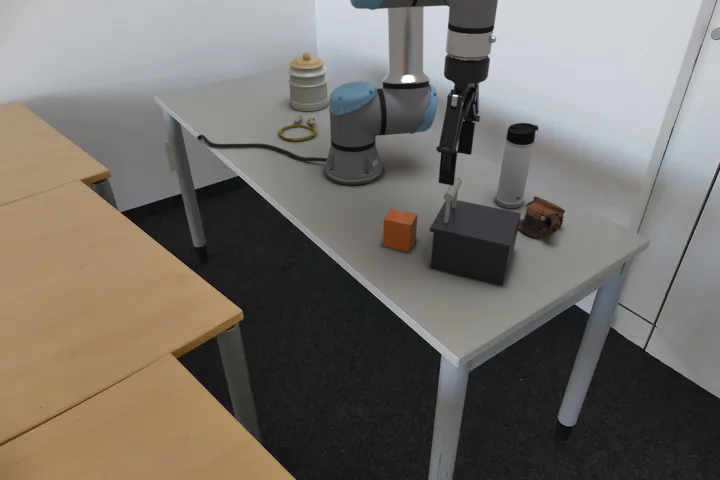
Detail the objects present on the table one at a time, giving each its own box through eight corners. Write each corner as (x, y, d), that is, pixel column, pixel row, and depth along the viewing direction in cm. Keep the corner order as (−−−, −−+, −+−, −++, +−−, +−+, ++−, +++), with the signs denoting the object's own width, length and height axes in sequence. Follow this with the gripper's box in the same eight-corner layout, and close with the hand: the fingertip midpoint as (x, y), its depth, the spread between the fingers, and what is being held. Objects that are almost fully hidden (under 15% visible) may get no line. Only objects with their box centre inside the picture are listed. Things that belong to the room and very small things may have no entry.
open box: (430, 268, 112) (433, 232, 107) (446, 236, 121) (450, 202, 116) (502, 286, 107) (509, 249, 102) (513, 251, 116) (520, 216, 111)
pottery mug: (507, 222, 126) (524, 190, 124) (539, 235, 129) (556, 204, 127) (533, 240, 115) (552, 205, 113) (567, 253, 118) (586, 219, 116)
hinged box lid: (429, 231, 107) (432, 197, 102) (446, 201, 116) (449, 169, 112) (509, 249, 102) (516, 214, 97) (520, 216, 111) (526, 183, 107)
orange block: (382, 246, 118) (383, 219, 114) (390, 235, 122) (391, 208, 118) (409, 252, 116) (410, 225, 112) (415, 240, 120) (417, 214, 116)
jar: (296, 96, 192) (293, 45, 182) (332, 99, 190) (330, 47, 180) (285, 110, 182) (280, 57, 172) (322, 113, 180) (320, 59, 169)
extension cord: (331, 127, 170) (331, 121, 169) (300, 145, 160) (299, 139, 158) (301, 119, 176) (300, 113, 175) (268, 136, 165) (268, 130, 164)
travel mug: (523, 210, 130) (539, 132, 118) (495, 207, 131) (508, 130, 120) (522, 197, 135) (537, 121, 123) (495, 194, 136) (508, 119, 125)
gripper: (472, 80, 81) (458, 202, 93) (504, 38, 100) (488, 144, 112) (424, 73, 84) (416, 193, 96) (463, 34, 102) (453, 139, 115)
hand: (455, 167), depth 104 cm, fingers open, 13 cm apart
